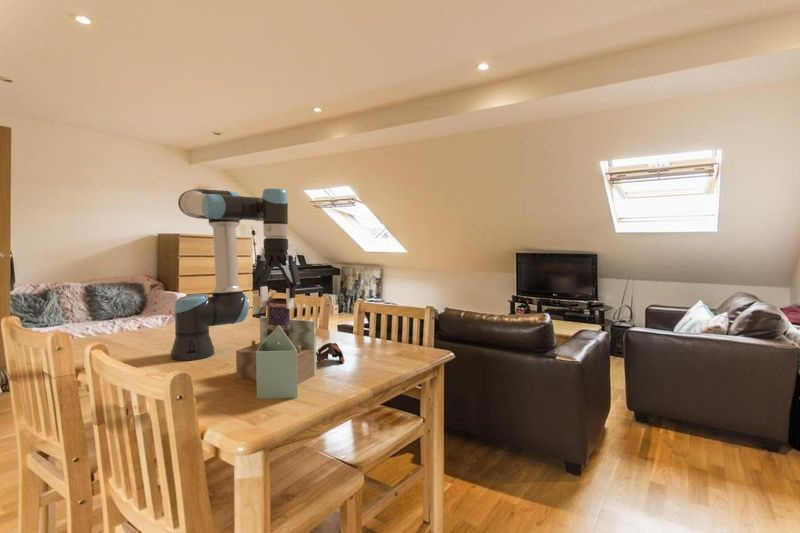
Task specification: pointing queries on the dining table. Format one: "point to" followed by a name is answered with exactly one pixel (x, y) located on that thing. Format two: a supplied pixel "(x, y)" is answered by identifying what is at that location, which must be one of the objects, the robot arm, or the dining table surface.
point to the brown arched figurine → (329, 352)
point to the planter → (276, 367)
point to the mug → (278, 315)
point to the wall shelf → (299, 336)
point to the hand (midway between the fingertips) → (277, 307)
